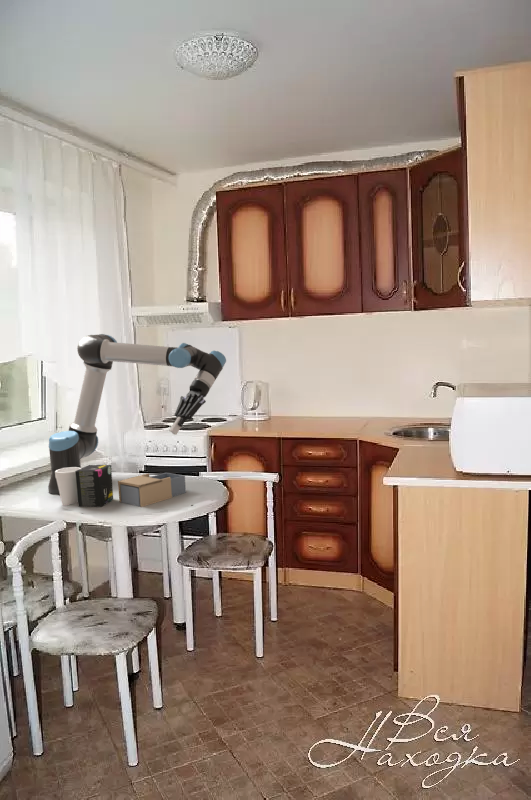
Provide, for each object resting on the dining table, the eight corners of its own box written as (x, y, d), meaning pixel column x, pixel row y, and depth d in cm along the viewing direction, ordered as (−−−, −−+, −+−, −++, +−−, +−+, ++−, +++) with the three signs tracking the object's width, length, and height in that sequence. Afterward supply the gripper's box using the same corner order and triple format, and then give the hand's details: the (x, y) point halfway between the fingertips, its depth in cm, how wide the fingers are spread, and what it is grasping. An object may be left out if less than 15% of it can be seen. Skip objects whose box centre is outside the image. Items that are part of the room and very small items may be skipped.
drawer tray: (121, 503, 237) (120, 484, 236) (167, 490, 253) (166, 472, 252) (139, 507, 230) (138, 488, 229) (185, 493, 246) (184, 475, 245)
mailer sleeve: (119, 505, 238) (117, 481, 237) (149, 496, 248) (148, 473, 247) (142, 510, 229) (140, 485, 228) (172, 501, 240) (170, 477, 239)
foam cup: (54, 507, 239) (51, 473, 237) (63, 500, 248) (60, 467, 247) (79, 506, 238) (76, 472, 237) (87, 500, 248) (84, 466, 246)
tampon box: (101, 511, 231) (98, 470, 230) (77, 510, 233) (74, 470, 232) (114, 502, 242) (111, 464, 240) (91, 502, 244) (88, 464, 242)
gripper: (218, 390, 256) (190, 439, 246) (196, 390, 265) (167, 437, 254) (207, 378, 252) (178, 427, 241) (185, 378, 260) (156, 425, 250)
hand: (173, 432), depth 248 cm, fingers closed
